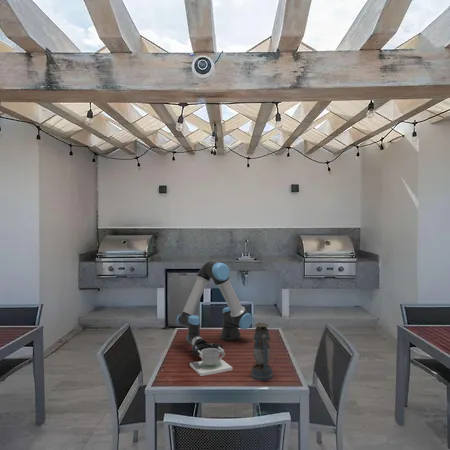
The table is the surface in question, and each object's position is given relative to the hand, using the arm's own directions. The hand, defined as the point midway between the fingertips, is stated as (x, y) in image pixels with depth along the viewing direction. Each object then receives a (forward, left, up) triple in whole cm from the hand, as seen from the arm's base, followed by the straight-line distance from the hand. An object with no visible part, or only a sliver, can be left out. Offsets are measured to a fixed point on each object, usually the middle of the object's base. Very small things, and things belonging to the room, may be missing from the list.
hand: (212, 354), depth 226 cm
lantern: (-22, +21, -10) cm, 32 cm away
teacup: (0, -1, -6) cm, 6 cm away
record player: (0, -3, -9) cm, 10 cm away
